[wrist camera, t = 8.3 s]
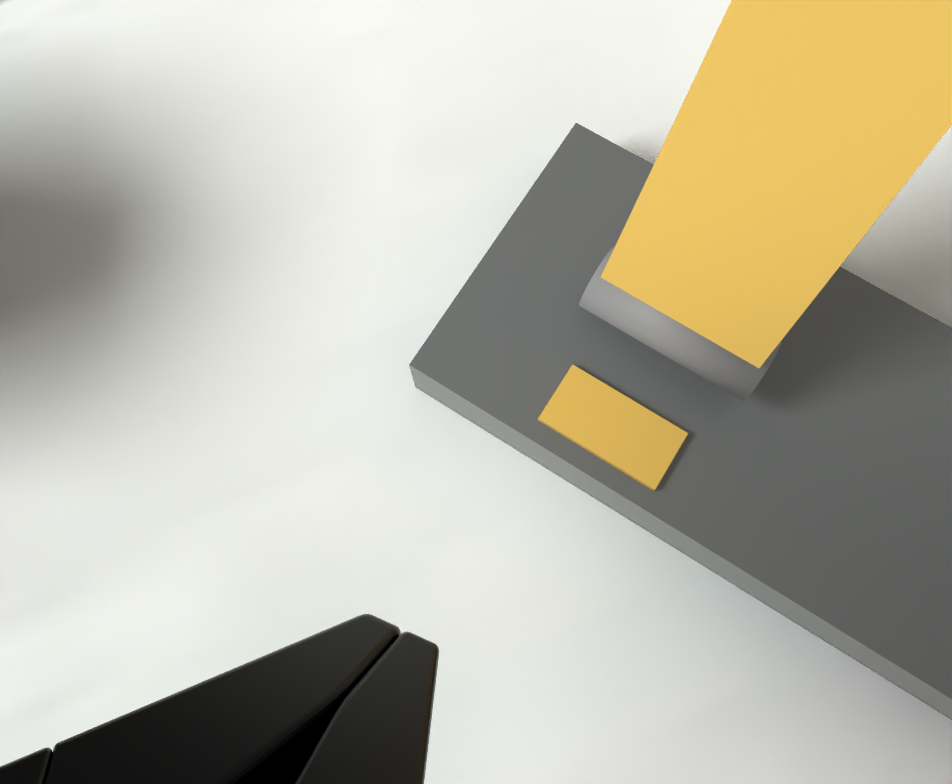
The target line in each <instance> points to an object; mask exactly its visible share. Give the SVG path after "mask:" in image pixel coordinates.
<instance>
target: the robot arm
mask: <svg viewBox="0 0 952 784" xmlns="http://www.w3.org/2000/svg"><path fill="white" fill-rule="evenodd" d="M438 657H439V649H438V646H437V645H436V644H435V643H432V642H430V641H428V640H426V639H424V638H421V637H419V636H417V635H415V634H413V633H410V632H403V633H401V632H400V630H399V628H398V627H397V626H395V625H393V624H391V623H388V622H386V621H384V620H382V619H380V618H377V617H375V616H373V615H370V614H363V615H360V616H357V617H355V618H353V619H350V620H348V621H346V622H343V623H341V624H338V625H336V626H334V627H331V628H329V629H327V630H324V631H322V632H319V633H317V634H315V635H312V636H310V637H308V638H305V639H303V640H301V641H298V642H296V643H293V644H291V645H289V646H286V647H284V648H282V649H279V650H277V651H274V652H272V653H270V654H267V655H265V656H263V657H260V658H258V659H256V660H253V661H251V662H248V663H246V664H244V665H241V666H239V667H237V668H234V669H232V670H229V671H227V672H225V673H222V674H220V675H218V676H215V677H213V678H211V679H208V680H206V681H203V682H201V683H199V684H196V685H194V686H192V687H189V688H187V689H184V690H182V691H180V692H177V693H175V694H173V695H170V696H168V697H165V698H163V699H161V700H158V701H156V702H154V703H151V704H149V705H147V706H144V707H142V708H139V709H137V710H135V711H132V712H130V713H128V714H125V715H123V716H120V717H118V718H116V719H113V720H111V721H109V722H106V723H104V724H102V725H99V726H97V727H94V728H92V729H90V730H87V731H85V732H83V733H80V734H78V735H75V736H73V737H71V738H68V739H66V740H64V741H61V742H59V743H57V744H56V745H55V747H54V749H53V753H52V750H51V749H50V748H44V749H41V750H39V751H37V752H34V753H32V754H30V755H27V756H25V757H22V758H20V759H18V760H15V761H13V762H11V763H8V764H6V765H3V766H1V767H0V784H424V778H425V769H426V761H427V752H428V744H429V735H430V726H431V718H432V709H433V700H434V692H435V683H436V674H437V666H438Z"/></svg>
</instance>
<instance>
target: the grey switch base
mask: <svg viewBox="0 0 952 784" xmlns="http://www.w3.org/2000/svg"><path fill="white" fill-rule="evenodd" d="M653 166H654V165H652V164H651V163H649V162H647V161H645V160H643V159H641V158H640V157H638V156H636V155H634V154H632V153H630V152H629V151H627V150H625V149H623V148H621V147H620V146H618V145H616V144H614V143H612V142H610V141H609V140H607V139H605V138H603V137H601V136H599V135H598V134H596V133H594V132H592V131H590V130H588V129H587V128H585V127H583V126H581V125H579V124H577V123H576V124H575V125H574V127H573V128H572V129H571V131H570V132H569V134H568V135H567V137H566V138H565V140H564V141H563V142H562V144H561V145H560V147H559V148H558V150H557V151H556V153H555V154H554V156H553V157H552V158H551V160H550V161H549V163H548V164H547V166H546V167H545V169H544V170H543V171H542V173H541V174H540V176H539V177H538V179H537V180H536V182H535V183H534V185H533V186H532V187H531V189H530V190H529V192H528V193H527V195H526V196H525V198H524V199H523V201H522V202H521V203H520V205H519V206H518V208H517V209H516V211H515V212H514V214H513V215H512V216H511V218H510V219H509V221H508V222H507V224H506V225H505V227H504V228H503V230H502V231H501V232H500V234H499V235H498V237H497V238H496V240H495V241H494V243H493V244H492V245H491V247H490V248H489V250H488V251H487V253H486V254H485V256H484V257H483V259H482V260H481V261H480V263H479V264H478V266H477V267H476V269H475V270H474V272H473V273H472V275H471V276H470V277H469V279H468V280H467V282H466V283H465V285H464V286H463V288H462V289H461V290H460V292H459V293H458V295H457V296H456V298H455V299H454V301H453V302H452V304H451V305H450V306H449V308H448V309H447V311H446V312H445V314H444V315H443V317H442V318H441V319H440V321H439V322H438V324H437V325H436V327H435V328H434V330H433V331H432V333H431V334H430V335H429V337H428V338H427V340H426V341H425V343H424V344H423V346H422V347H421V349H420V350H419V351H418V353H417V354H416V356H415V357H414V359H413V360H412V362H411V363H410V364H409V365H410V369H411V373H412V376H413V380H414V383H415V387H416V388H418V389H420V390H421V391H423V392H424V393H426V394H428V395H429V396H431V397H432V398H434V399H436V400H437V401H439V402H441V403H442V404H444V405H445V406H447V407H449V408H450V409H452V410H453V411H455V412H457V413H458V414H460V415H462V416H463V417H465V418H466V419H468V420H470V421H471V422H473V423H474V424H476V425H478V426H479V427H481V428H482V429H484V430H486V431H487V432H489V433H491V434H492V435H494V436H495V437H497V438H499V439H500V440H502V441H503V442H505V443H507V444H508V445H510V446H511V447H513V448H515V449H516V450H518V451H520V452H521V453H523V454H524V455H526V456H528V457H529V458H531V459H532V460H534V461H536V462H537V463H539V464H540V465H542V466H544V467H545V468H547V469H549V470H550V471H552V472H553V473H555V474H557V475H558V476H560V477H561V478H563V479H565V480H566V481H568V482H569V483H571V484H573V485H574V486H576V487H578V488H579V489H581V490H582V491H584V492H586V493H587V494H589V495H590V496H592V497H594V498H595V499H597V500H599V501H600V502H602V503H603V504H605V505H607V506H608V507H610V508H611V509H613V510H615V511H616V512H618V513H619V514H621V515H623V516H624V517H626V518H628V519H629V520H631V521H632V522H634V523H636V524H637V525H639V526H640V527H642V528H644V529H645V530H647V531H648V532H650V533H652V534H653V535H655V536H657V537H658V538H660V539H661V540H663V541H665V542H666V543H668V544H669V545H671V546H673V547H674V548H676V549H677V550H679V551H681V552H682V553H684V554H686V555H687V556H689V557H690V558H692V559H694V560H695V561H697V562H698V563H700V564H702V565H703V566H705V567H706V568H708V569H710V570H711V571H713V572H715V573H716V574H718V575H719V576H721V577H723V578H724V579H726V580H727V581H729V582H731V583H732V584H734V585H736V586H737V587H739V588H740V589H742V590H744V591H745V592H747V593H748V594H750V595H752V596H753V597H755V598H756V599H758V600H760V601H761V602H763V603H765V604H766V605H768V606H769V607H771V608H773V609H774V610H776V611H777V612H779V613H781V614H782V615H784V616H785V617H787V618H789V619H790V620H792V621H794V622H795V623H797V624H798V625H800V626H802V627H803V628H805V629H806V630H808V631H810V632H811V633H813V634H814V635H816V636H818V637H819V638H821V639H823V640H824V641H826V642H827V643H829V644H831V645H832V646H834V647H835V648H837V649H839V650H840V651H842V652H843V653H845V654H847V655H848V656H850V657H852V658H853V659H855V660H856V661H858V662H860V663H861V664H863V665H864V666H866V667H868V668H869V669H871V670H873V671H874V672H876V673H877V674H879V675H881V676H882V677H884V678H885V679H887V680H889V681H890V682H892V683H893V684H895V685H897V686H898V687H900V688H902V689H903V690H905V691H906V692H908V693H910V694H911V695H913V696H914V697H916V698H918V699H919V700H921V701H922V702H924V703H926V704H927V705H929V706H931V707H932V708H934V709H935V710H937V711H939V712H940V713H942V714H943V715H945V716H947V717H948V718H950V719H951V720H952V328H951V327H949V326H947V325H945V324H943V323H941V322H940V321H938V320H936V319H934V318H932V317H931V316H929V315H927V314H925V313H923V312H921V311H920V310H918V309H916V308H914V307H912V306H910V305H909V304H907V303H905V302H903V301H901V300H899V299H898V298H896V297H894V296H892V295H890V294H888V293H887V292H885V291H883V290H881V289H879V288H877V287H876V286H874V285H872V284H870V283H868V282H866V281H865V280H863V279H861V278H859V277H857V276H856V275H854V274H852V273H850V272H848V271H846V270H845V269H843V268H841V267H839V268H838V269H837V271H836V272H835V273H834V274H833V276H832V277H831V278H830V279H829V281H828V282H827V283H826V284H825V286H824V287H823V288H822V290H821V291H820V292H819V293H818V295H817V296H816V297H815V298H814V300H813V301H812V302H811V303H810V305H809V306H808V307H807V309H806V310H805V311H804V312H803V314H802V315H801V316H800V317H799V319H798V320H797V321H796V322H795V324H794V325H793V326H792V328H791V329H790V330H789V331H788V333H787V334H786V335H785V336H784V338H783V339H782V340H781V341H780V342H781V345H780V348H779V350H778V352H777V354H776V356H775V358H774V360H773V361H772V363H771V365H770V366H769V368H768V370H767V371H766V373H765V374H764V376H763V377H762V379H761V380H760V382H759V383H758V385H757V386H756V388H755V389H754V390H753V392H752V393H751V394H750V395H749V396H748V398H747V399H746V400H744V401H741V400H740V399H738V398H736V397H734V396H733V395H731V394H729V393H728V392H726V391H724V390H722V389H721V388H719V387H717V386H716V385H714V384H712V383H710V382H709V381H707V380H705V379H704V378H702V377H700V376H698V375H697V374H695V373H693V372H692V371H690V370H688V369H686V368H685V367H683V366H681V365H680V364H678V363H676V362H674V361H673V360H671V359H669V358H668V357H666V356H664V355H662V354H661V353H659V352H657V351H656V350H654V349H652V348H650V347H649V346H647V345H645V344H644V343H642V342H640V341H638V340H637V339H635V338H633V337H632V336H630V335H628V334H626V333H625V332H623V331H621V330H620V329H618V328H616V327H614V326H613V325H611V324H609V323H608V322H606V321H604V320H602V319H601V318H599V317H597V316H596V315H594V314H592V313H590V312H589V311H587V310H585V309H584V308H582V307H580V306H579V303H580V300H581V298H582V295H583V293H584V291H585V289H586V287H587V286H588V284H589V282H590V280H591V278H592V277H593V275H594V273H595V271H596V270H597V268H598V267H599V265H600V263H601V262H602V260H603V259H604V257H605V256H606V255H607V253H608V252H609V251H610V250H611V248H613V247H615V246H616V244H617V241H618V239H619V237H620V235H621V233H622V231H623V229H624V227H625V225H626V222H627V220H628V218H629V216H630V214H631V212H632V210H633V208H634V206H635V203H636V201H637V199H638V197H639V195H640V193H641V191H642V189H643V187H644V184H645V182H646V180H647V178H648V176H649V174H650V172H651V170H652V168H653Z"/></svg>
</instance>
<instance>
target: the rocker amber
mask: <svg viewBox="0 0 952 784" xmlns="http://www.w3.org/2000/svg"><path fill="white" fill-rule="evenodd" d="M951 125H952V0H732V1H731V3H730V5H729V7H728V9H727V11H726V14H725V16H724V18H723V20H722V22H721V24H720V26H719V28H718V30H717V33H716V35H715V37H714V39H713V41H712V43H711V45H710V47H709V49H708V52H707V54H706V56H705V58H704V60H703V62H702V64H701V66H700V68H699V71H698V73H697V75H696V77H695V79H694V81H693V83H692V85H691V87H690V90H689V92H688V94H687V96H686V98H685V100H684V102H683V104H682V106H681V109H680V111H679V113H678V115H677V117H676V119H675V121H674V123H673V125H672V128H671V130H670V132H669V134H668V136H667V138H666V140H665V142H664V144H663V147H662V149H661V151H660V153H659V155H658V157H657V159H656V161H655V163H654V166H653V168H652V170H651V172H650V174H649V176H648V178H647V180H646V182H645V184H644V187H643V189H642V191H641V193H640V195H639V197H638V199H637V201H636V203H635V206H634V208H633V210H632V212H631V214H630V216H629V218H628V220H627V222H626V225H625V227H624V229H623V231H622V233H621V235H620V237H619V239H618V241H617V244H616V246H615V247H613V248H611V250H610V251H609V252H608V253H607V255H606V256H605V257H604V259H603V260H602V262H601V263H600V265H599V267H598V268H597V270H596V271H595V273H594V275H593V277H592V278H591V280H590V282H589V284H588V286H587V287H586V289H585V291H584V293H583V295H582V298H581V300H580V303H579V306H580V307H582V308H584V309H585V310H587V311H589V312H590V313H592V314H594V315H596V316H597V317H599V318H601V319H602V320H604V321H606V322H608V323H609V324H611V325H613V326H614V327H616V328H618V329H620V330H621V331H623V332H625V333H626V334H628V335H630V336H632V337H633V338H635V339H637V340H638V341H640V342H642V343H644V344H645V345H647V346H649V347H650V348H652V349H654V350H656V351H657V352H659V353H661V354H662V355H664V356H666V357H668V358H669V359H671V360H673V361H674V362H676V363H678V364H680V365H681V366H683V367H685V368H686V369H688V370H690V371H692V372H693V373H695V374H697V375H698V376H700V377H702V378H704V379H705V380H707V381H709V382H710V383H712V384H714V385H716V386H717V387H719V388H721V389H722V390H724V391H726V392H728V393H729V394H731V395H733V396H734V397H736V398H738V399H740V400H741V401H744V400H746V399H747V398H748V396H749V395H750V394H751V393H752V392H753V390H754V389H755V388H756V386H757V385H758V383H759V382H760V380H761V379H762V377H763V376H764V374H765V373H766V371H767V370H768V368H769V366H770V365H771V363H772V361H773V360H774V358H775V356H776V354H777V352H778V350H779V348H780V345H781V342H780V341H781V340H782V339H783V338H784V336H785V335H786V334H787V333H788V331H789V330H790V329H791V328H792V326H793V325H794V324H795V322H796V321H797V320H798V319H799V317H800V316H801V315H802V314H803V312H804V311H805V310H806V309H807V307H808V306H809V305H810V303H811V302H812V301H813V300H814V298H815V297H816V296H817V295H818V293H819V292H820V291H821V290H822V288H823V287H824V286H825V284H826V283H827V282H828V281H829V279H830V278H831V277H832V276H833V274H834V273H835V272H836V271H837V269H838V268H839V267H840V266H841V264H842V263H843V262H844V260H845V259H846V258H847V257H848V255H849V254H850V253H851V252H852V250H853V249H854V248H855V247H856V245H857V244H858V243H859V241H860V240H861V239H862V238H863V236H864V235H865V234H866V233H867V231H868V230H869V229H870V228H871V226H872V225H873V224H874V222H875V221H876V220H877V219H878V217H879V216H880V215H881V214H882V212H883V211H884V210H885V209H886V207H887V206H888V205H889V203H890V202H891V201H892V200H893V198H894V197H895V196H896V195H897V193H898V192H899V191H900V190H901V188H902V187H903V186H904V184H905V183H906V182H907V181H908V179H909V178H910V177H911V176H912V174H913V173H914V172H915V171H916V169H917V168H918V167H919V165H920V164H921V163H922V162H923V160H924V159H925V158H926V157H927V155H928V154H929V153H930V152H931V150H932V149H933V148H934V146H935V145H936V144H937V143H938V141H939V140H940V139H941V138H942V136H943V135H944V134H945V133H946V131H947V130H948V129H949V128H950V126H951Z"/></svg>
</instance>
